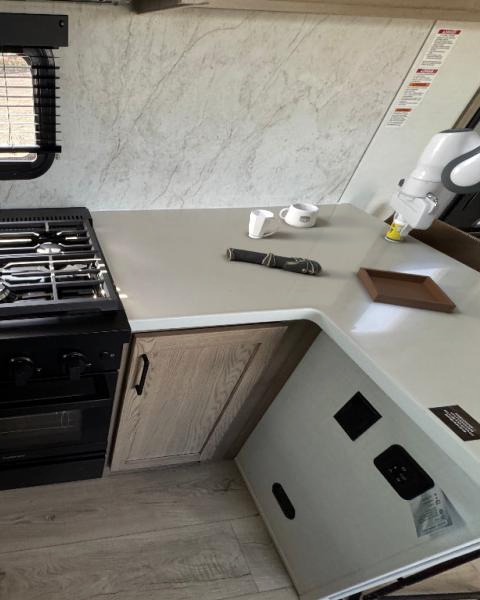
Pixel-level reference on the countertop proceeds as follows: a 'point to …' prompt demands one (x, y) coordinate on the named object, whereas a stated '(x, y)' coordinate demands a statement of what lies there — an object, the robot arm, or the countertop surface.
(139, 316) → the countertop surface
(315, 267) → the twine-tied cloth roll
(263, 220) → the cup
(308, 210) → the mug
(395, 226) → the supplement bottle
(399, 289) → the tray
